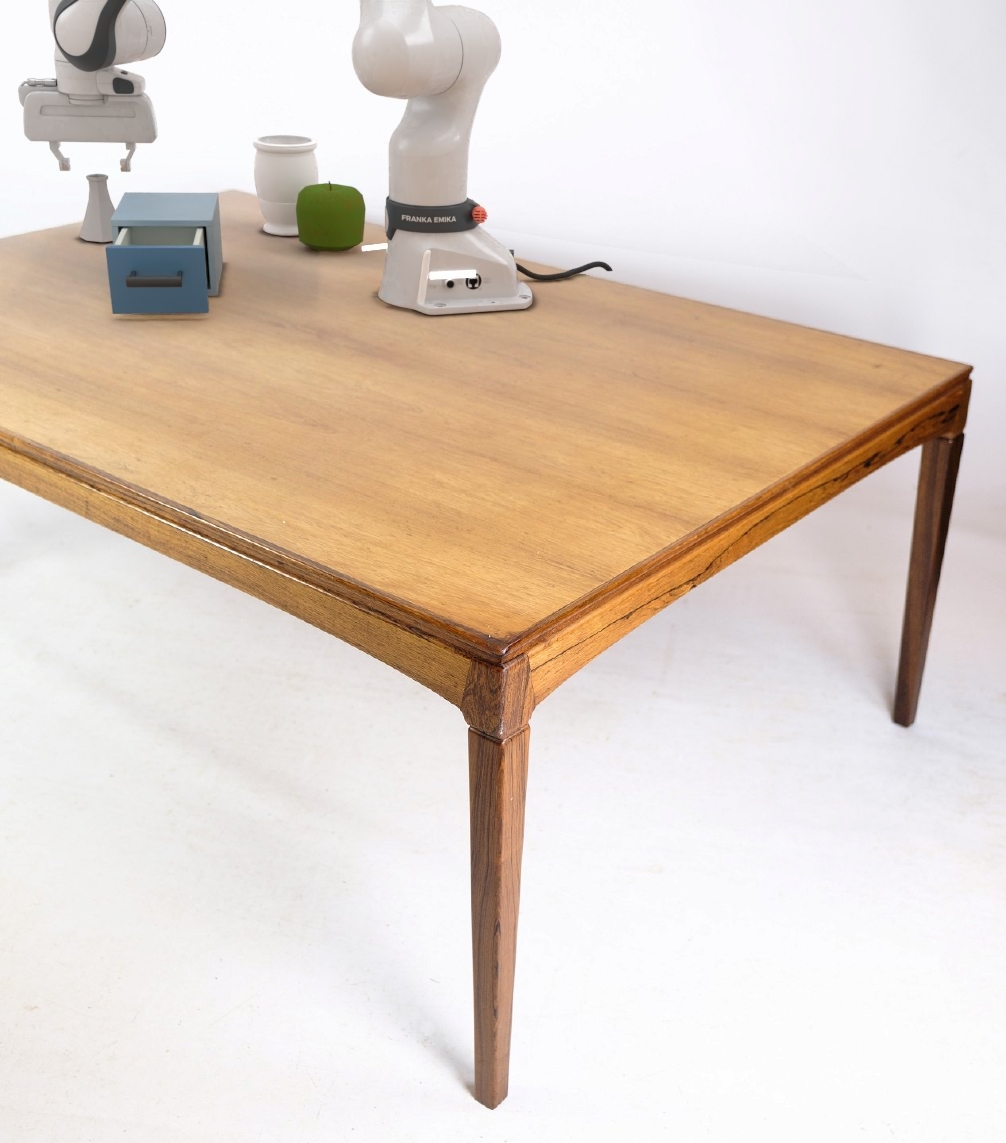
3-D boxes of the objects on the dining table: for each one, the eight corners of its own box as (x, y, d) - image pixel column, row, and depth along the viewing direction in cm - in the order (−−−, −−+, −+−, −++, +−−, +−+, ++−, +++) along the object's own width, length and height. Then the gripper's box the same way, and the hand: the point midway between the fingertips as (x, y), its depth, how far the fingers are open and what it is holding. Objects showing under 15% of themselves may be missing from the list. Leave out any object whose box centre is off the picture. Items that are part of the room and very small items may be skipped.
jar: (325, 226, 225) (323, 136, 218) (312, 240, 216) (309, 147, 209) (265, 222, 226) (261, 132, 219) (249, 236, 217) (244, 143, 210)
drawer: (206, 324, 171) (201, 257, 166) (108, 325, 169) (100, 257, 165) (214, 279, 189) (210, 218, 185) (126, 280, 188) (119, 218, 183)
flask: (136, 237, 213) (130, 175, 209) (102, 245, 208) (95, 182, 203) (105, 230, 217) (98, 169, 212) (71, 238, 211) (63, 176, 206)
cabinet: (217, 296, 186) (212, 220, 180) (118, 296, 184) (110, 219, 178) (222, 263, 201) (218, 192, 196) (131, 263, 199) (124, 192, 194)
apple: (296, 257, 206) (293, 187, 201) (298, 240, 216) (296, 173, 210) (366, 257, 207) (365, 188, 202) (365, 241, 217) (364, 174, 212)
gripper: (12, 80, 196) (24, 174, 203) (151, 84, 199) (158, 175, 206) (20, 75, 202) (31, 165, 208) (154, 78, 205) (161, 167, 211)
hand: (95, 170), depth 207 cm, fingers open, 8 cm apart
